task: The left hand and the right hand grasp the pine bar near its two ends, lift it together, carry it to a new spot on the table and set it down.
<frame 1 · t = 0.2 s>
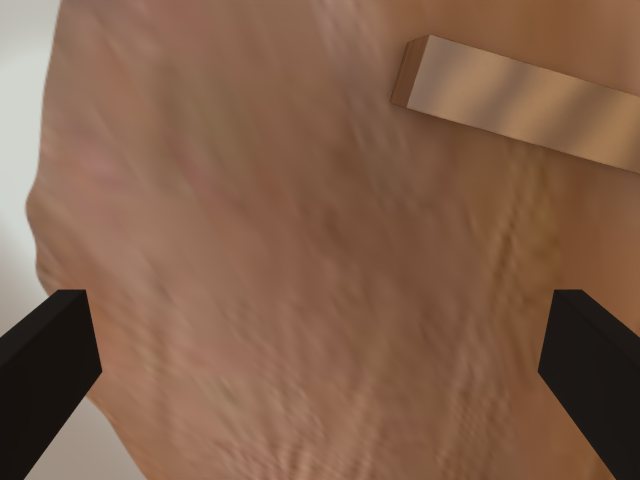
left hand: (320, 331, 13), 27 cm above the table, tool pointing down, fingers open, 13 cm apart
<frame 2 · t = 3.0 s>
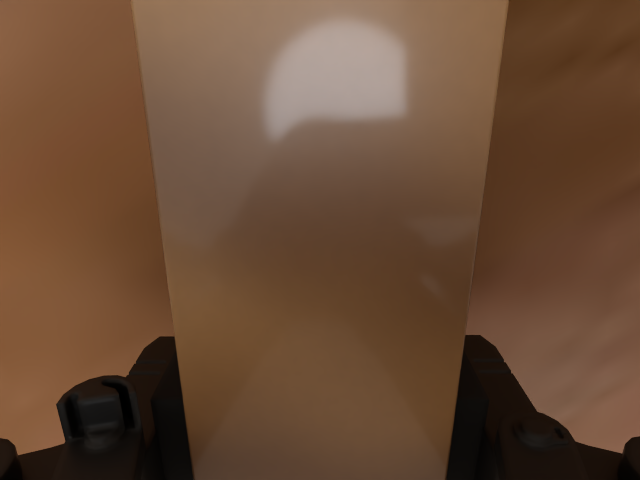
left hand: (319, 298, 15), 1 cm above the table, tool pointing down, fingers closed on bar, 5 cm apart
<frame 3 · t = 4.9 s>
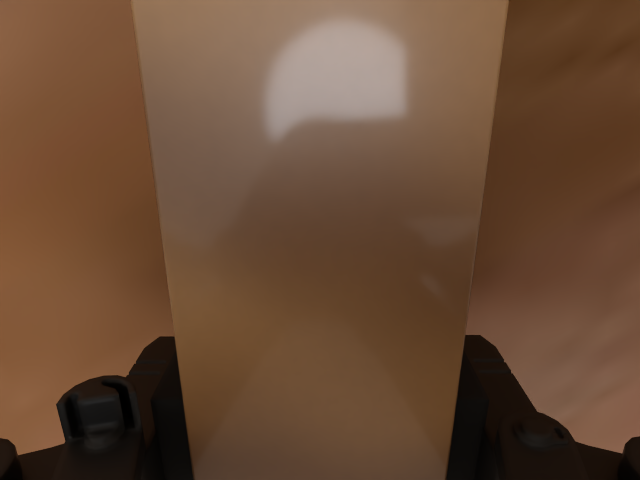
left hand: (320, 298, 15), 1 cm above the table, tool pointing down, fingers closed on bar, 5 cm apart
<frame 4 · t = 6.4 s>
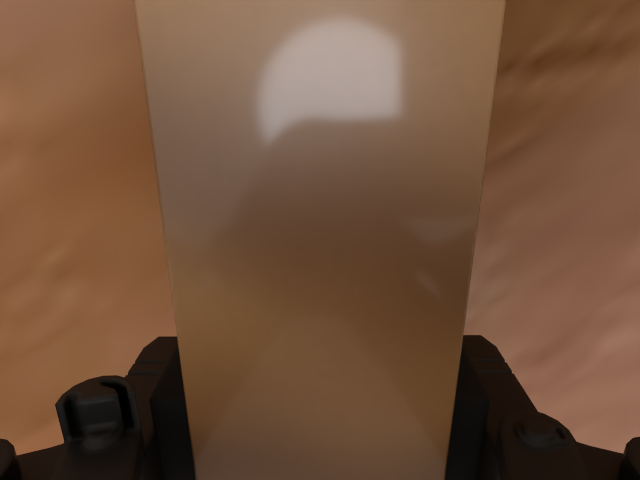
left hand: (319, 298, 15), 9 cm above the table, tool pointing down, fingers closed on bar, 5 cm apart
when the left hand's fingers open (2 cm above the table, at t = 9.9 s): bar drops 1 cm, on the table.
when the right hand's fingers open (4 cm above the table, at t = 10.1 s): bar stays where it is, on the table.
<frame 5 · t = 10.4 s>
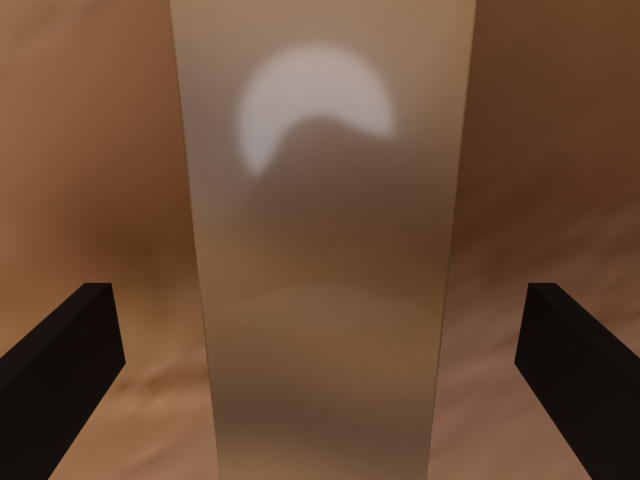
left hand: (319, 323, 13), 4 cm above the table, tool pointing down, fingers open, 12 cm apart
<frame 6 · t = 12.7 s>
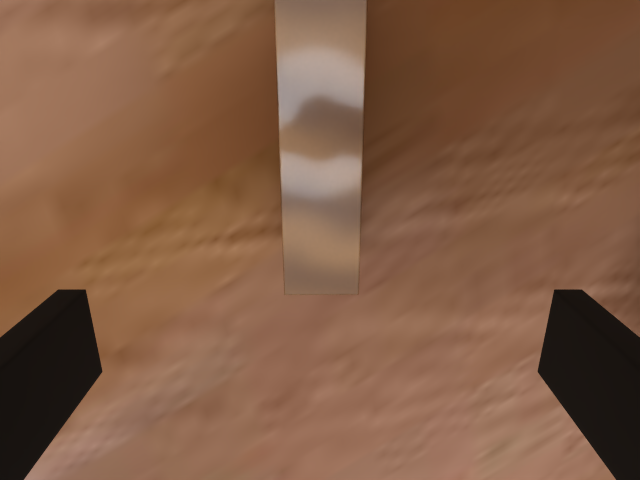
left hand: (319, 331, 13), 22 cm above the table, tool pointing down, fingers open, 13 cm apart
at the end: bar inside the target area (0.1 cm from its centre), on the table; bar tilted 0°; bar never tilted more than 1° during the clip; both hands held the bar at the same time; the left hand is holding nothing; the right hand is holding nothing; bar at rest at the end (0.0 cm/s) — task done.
